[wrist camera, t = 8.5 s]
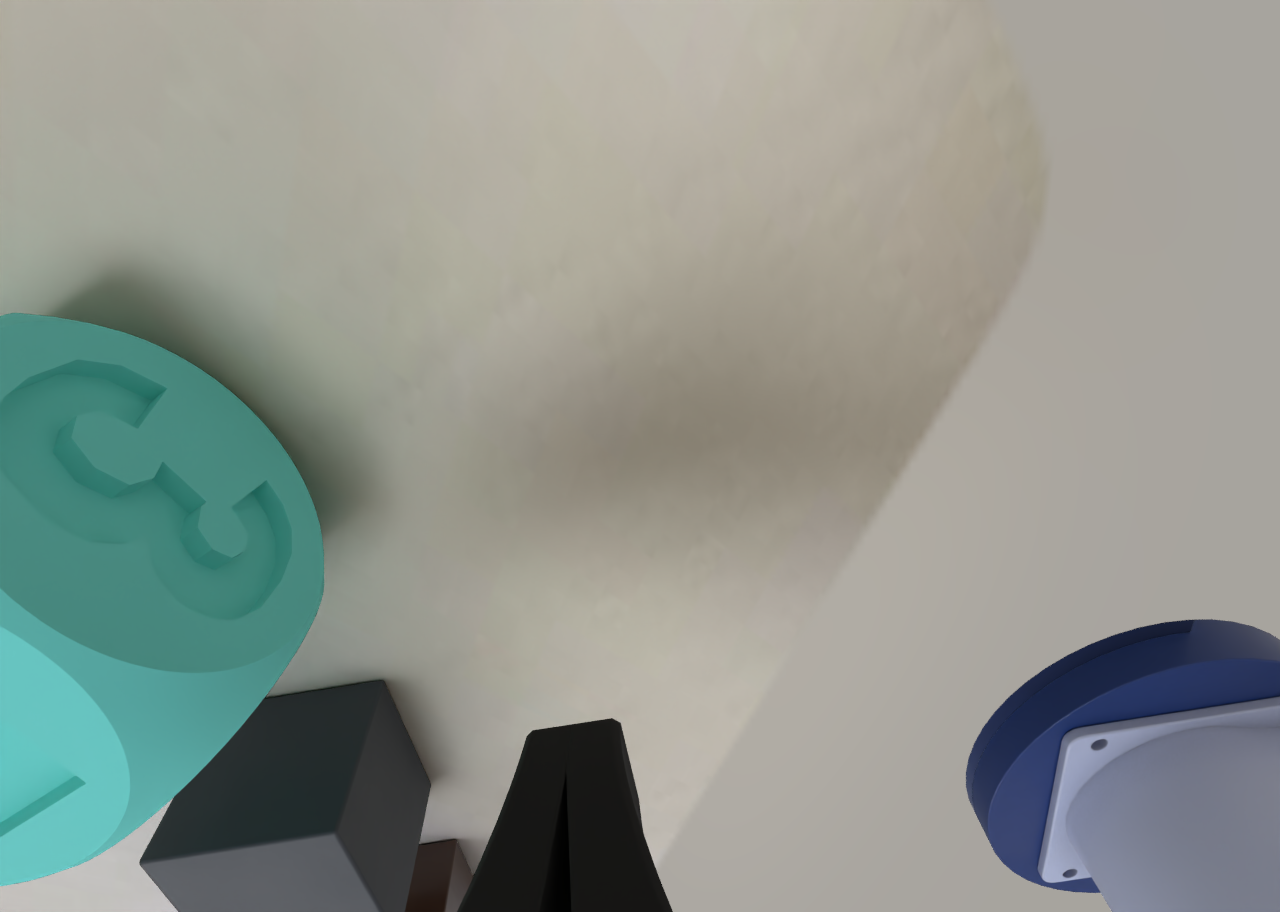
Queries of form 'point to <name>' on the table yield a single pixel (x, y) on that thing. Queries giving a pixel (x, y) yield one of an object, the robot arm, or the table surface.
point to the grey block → (299, 811)
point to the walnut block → (438, 878)
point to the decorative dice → (132, 582)
